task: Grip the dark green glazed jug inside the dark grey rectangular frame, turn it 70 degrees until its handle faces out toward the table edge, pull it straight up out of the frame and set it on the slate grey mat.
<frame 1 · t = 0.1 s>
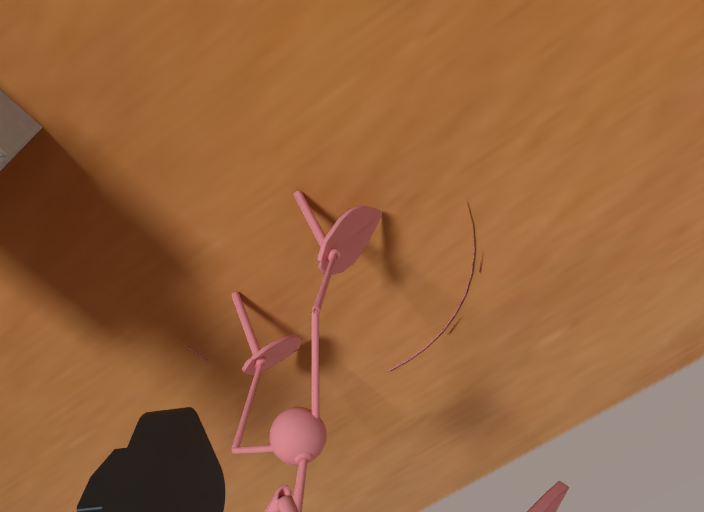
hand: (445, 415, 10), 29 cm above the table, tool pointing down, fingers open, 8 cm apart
figurine: (352, 289, 45), on the table
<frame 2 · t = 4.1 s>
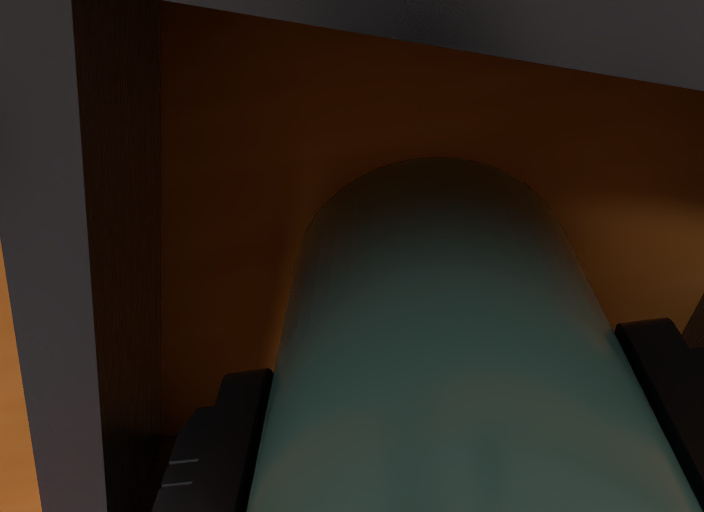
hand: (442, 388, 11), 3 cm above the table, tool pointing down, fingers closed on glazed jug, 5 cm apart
dark grey rectangular frame: (430, 284, 13), on the table
when the fingers open (4 cm above the table, at t = 12.5 s): glazed jug moves 1 cm, resting on slate grey mat.
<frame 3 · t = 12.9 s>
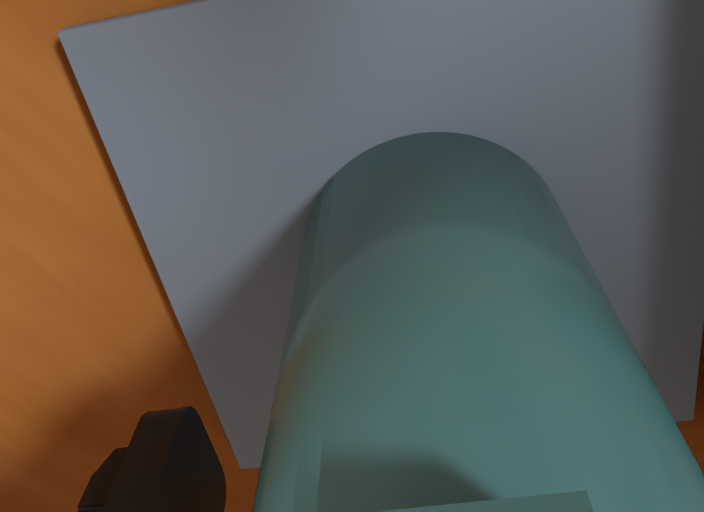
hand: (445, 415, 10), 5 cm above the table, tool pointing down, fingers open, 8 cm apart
slate grey mat: (425, 248, 15), on the table
glazed jug: (461, 455, 10), on the slate grey mat
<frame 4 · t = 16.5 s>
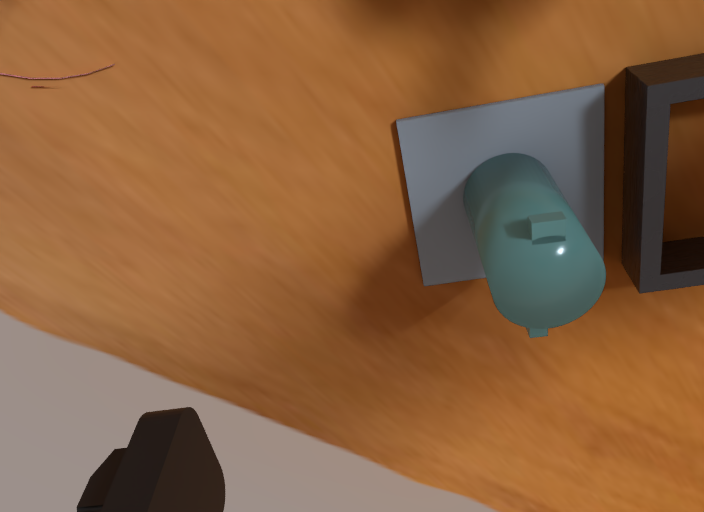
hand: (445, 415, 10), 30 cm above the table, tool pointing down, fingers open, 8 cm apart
slate grey mat: (504, 192, 41), on the table
glazed jug: (525, 244, 37), on the slate grey mat
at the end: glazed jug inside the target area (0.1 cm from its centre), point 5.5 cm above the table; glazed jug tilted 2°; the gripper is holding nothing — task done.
